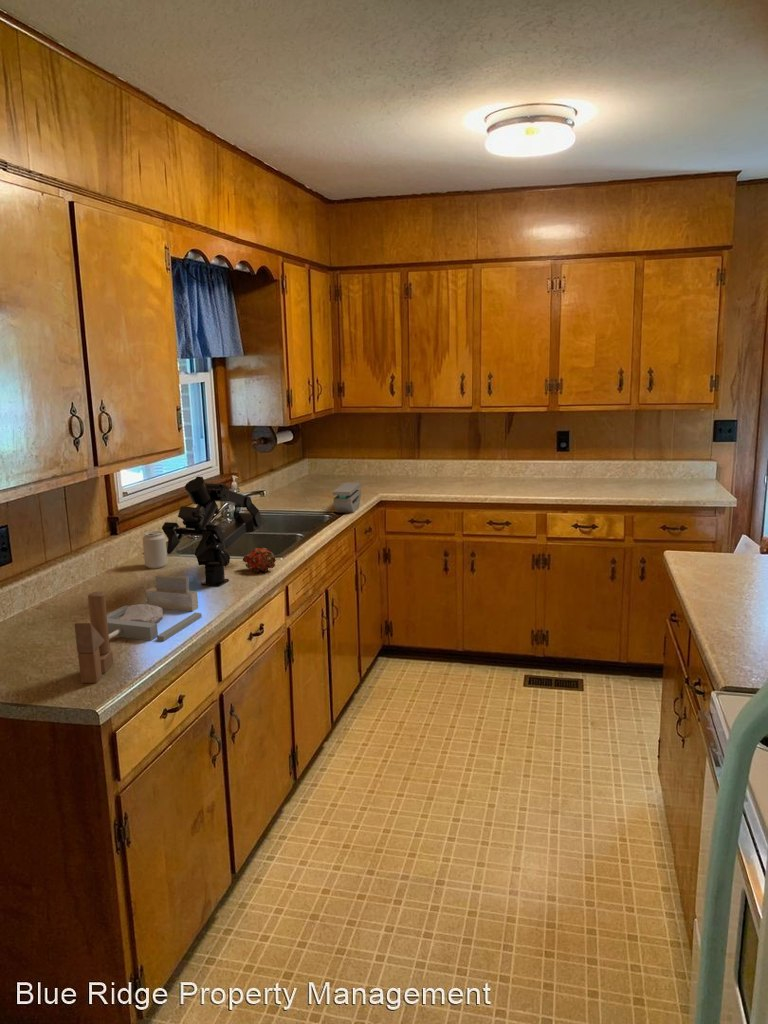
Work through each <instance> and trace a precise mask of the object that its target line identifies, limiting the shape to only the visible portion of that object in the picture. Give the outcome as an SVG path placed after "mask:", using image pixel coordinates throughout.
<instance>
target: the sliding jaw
mask: <svg viewBox="0 0 768 1024" xmlns="http://www.w3.org/2000/svg"><path fill="white" fill-rule="evenodd" d="M154 577H155V578H154V579H155V587H150V588H148V589H146V590H145V596H146V604H148V605H154V606H158V607H160V608H162V610H163V609H164V610H173V611H184V612H185V611H187V612H193V613H194V611H196V610H198V609H199V599H198V598H199V597H198V591H195V590H194V591H193V590H190V581H189V577H188V576H187V577H186V576H175V575H167V574H165V575H164V574H157V575H155V576H154Z"/></svg>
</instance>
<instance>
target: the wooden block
mask: <svg viewBox="0 0 768 1024" xmlns="http://www.w3.org/2000/svg"><path fill="white" fill-rule="evenodd" d="M87 600H88V609H89V619H90V622H82V623H81V622H76V623H75V622H74V624H73V625H74V634H75V642H76V650H77V651H76V652H77V656H78V657H77V658H78V666H79V673H80V674H79V675H80V682H81V684H96V683H98V682H99V680H100V679H101V678H102V677H103V674H105V673H106V672H107V671H108V670H109V669H110V668H111V667H112V665H113V664H114V656H113V655H114V654H113V649H111V645H110V639H109V633H108V623H107V614H108V613H107V603H106V594H105V592H103V591H94V592H91V593H89V594H88V595H87Z"/></svg>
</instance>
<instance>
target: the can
mask: <svg viewBox="0 0 768 1024" xmlns="http://www.w3.org/2000/svg"><path fill="white" fill-rule="evenodd" d="M143 535H144V536H143V537H142V546H143V548H142V549H143V559H144V566H145V567H147V568H148V569H150V570H152V569H155V570H156V569H162V568H164V567H165V566H166V565H167V564H168V563H169V562H168V553H167V539H166V538H167V536H166V535H165V534H164V531H163V530H162V531H161V530H153V531H152V530H151V531H146V532H145V533H144V534H143Z"/></svg>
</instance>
